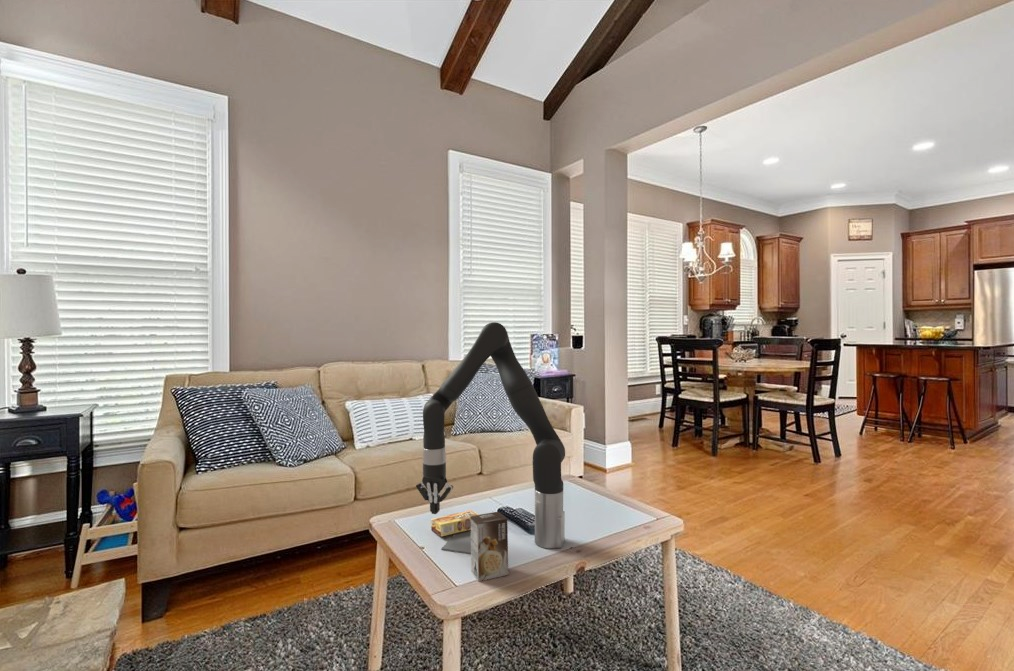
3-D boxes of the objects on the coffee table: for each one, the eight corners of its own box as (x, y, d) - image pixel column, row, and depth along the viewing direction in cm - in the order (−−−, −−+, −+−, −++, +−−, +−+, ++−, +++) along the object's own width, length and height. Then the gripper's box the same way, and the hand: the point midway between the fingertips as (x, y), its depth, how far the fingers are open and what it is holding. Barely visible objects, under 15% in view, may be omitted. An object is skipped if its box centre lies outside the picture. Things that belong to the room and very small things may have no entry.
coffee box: (499, 565, 140) (499, 510, 140) (508, 575, 134) (508, 518, 134) (470, 571, 136) (470, 515, 136) (477, 582, 131) (477, 524, 130)
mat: (500, 537, 158) (500, 535, 158) (486, 556, 145) (486, 555, 145) (458, 531, 163) (458, 530, 163) (441, 549, 150) (441, 548, 150)
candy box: (440, 537, 156) (482, 528, 164) (440, 523, 157) (482, 515, 164) (431, 530, 164) (471, 521, 172) (430, 517, 164) (471, 509, 172)
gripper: (457, 459, 159) (457, 511, 159) (421, 456, 163) (422, 507, 163) (448, 465, 152) (448, 519, 152) (410, 462, 156) (411, 515, 156)
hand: (434, 513), depth 158 cm, fingers closed
